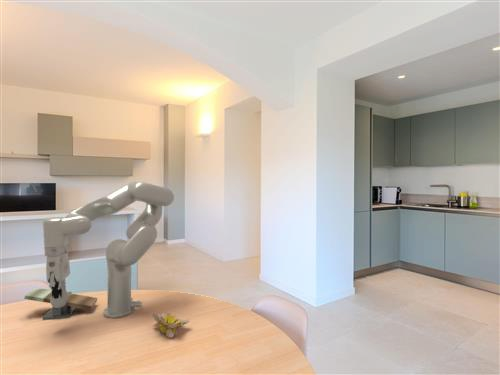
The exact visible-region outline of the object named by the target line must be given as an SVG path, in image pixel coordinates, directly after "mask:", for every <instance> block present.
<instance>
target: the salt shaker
mask: <svg viewBox="0 0 500 375" xmlns="http://www.w3.org/2000/svg"><path fill="white" fill-rule="evenodd" d="M55 281H57V280H55ZM55 284H57V285H58V283H55ZM65 286H66V284H64V281H62V282H61V288H60V289H62V298H61V296H60V294H59V297H58V298H57V299H54V296H53V297H52V292H51V299H50V303H49V304H51V306H52V307H54V308H59V307H63V306H64V305H66V303H67V300H68V295H67V292H68V291H67V289H66V288H65Z"/></svg>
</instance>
